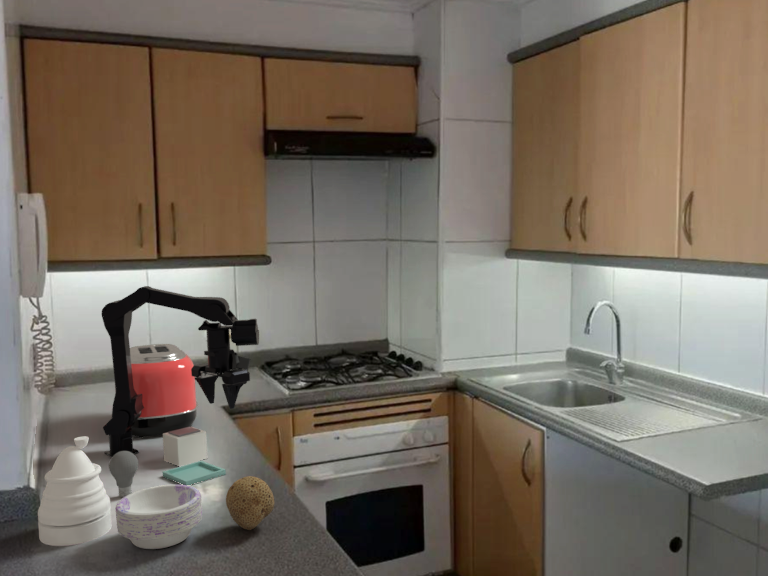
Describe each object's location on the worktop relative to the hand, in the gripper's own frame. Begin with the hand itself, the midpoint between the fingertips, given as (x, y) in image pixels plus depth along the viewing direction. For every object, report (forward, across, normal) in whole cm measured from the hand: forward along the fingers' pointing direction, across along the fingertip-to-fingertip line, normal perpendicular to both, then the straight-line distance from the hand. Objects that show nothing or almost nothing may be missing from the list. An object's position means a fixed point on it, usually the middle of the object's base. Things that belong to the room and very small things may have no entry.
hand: (221, 405), depth 187 cm
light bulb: (+12, -12, +33) cm, 37 cm away
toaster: (+12, +37, -1) cm, 39 cm away
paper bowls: (+12, -38, +39) cm, 56 cm away
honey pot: (+12, -22, +48) cm, 54 cm away
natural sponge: (+12, -47, +25) cm, 55 cm away
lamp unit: (+12, 0, +11) cm, 16 cm away
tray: (+12, -12, +16) cm, 23 cm away
